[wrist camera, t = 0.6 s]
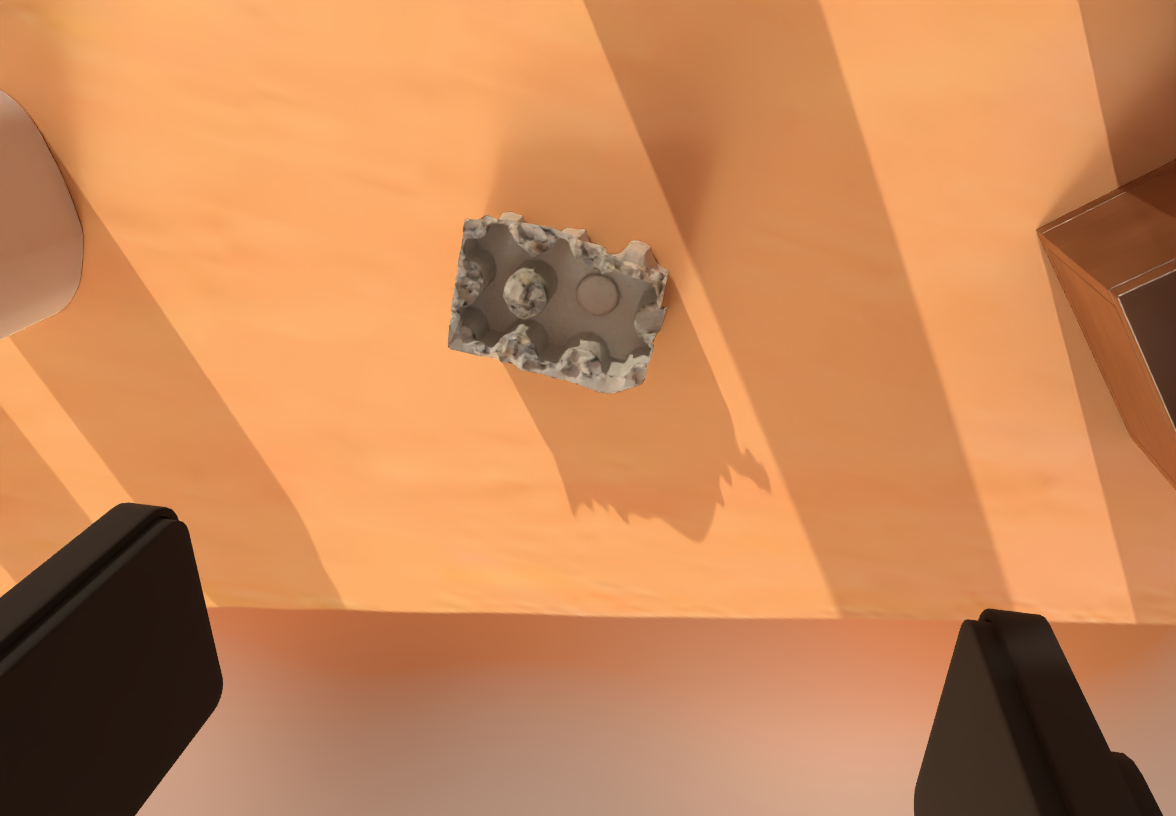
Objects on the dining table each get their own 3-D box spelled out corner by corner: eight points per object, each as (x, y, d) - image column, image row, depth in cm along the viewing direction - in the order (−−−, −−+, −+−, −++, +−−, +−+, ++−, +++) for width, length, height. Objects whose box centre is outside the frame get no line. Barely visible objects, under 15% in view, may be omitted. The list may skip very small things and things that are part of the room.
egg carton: (683, 248, 42) (678, 273, 38) (644, 377, 46) (636, 411, 42) (481, 192, 42) (458, 211, 39) (459, 324, 46) (435, 353, 42)
